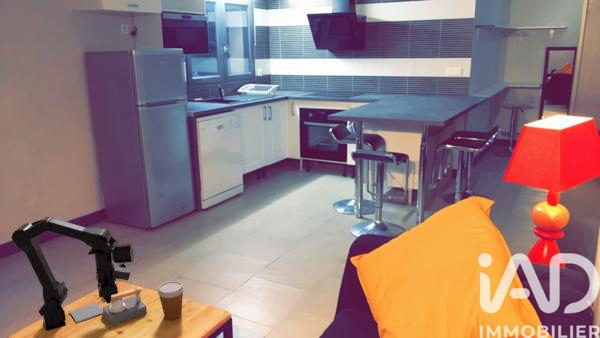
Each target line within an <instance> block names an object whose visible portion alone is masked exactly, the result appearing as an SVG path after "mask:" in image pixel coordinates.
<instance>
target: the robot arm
mask: <svg viewBox="0 0 600 338" xmlns="http://www.w3.org/2000/svg"><path fill="white" fill-rule="evenodd" d="M45 232H50V233H53V234H58V235H61V236H64V237H68V238H71V239H74V240H78V241H81V242H83V243H84V244H85V245H87V246H88V247H89V248H90V247H91V249H90V250H89V251H88V252H87V255H94V263H95V279H96V280H95V281H97V290H98V292H97V293H98V298H101V297H103V298H104V299H105V301H106V302H105V303H106V304H107V305H108V304H109V305H110V304H111V295H115V294H117V293H119V289H118V285H117V283H116V281H117V280H124V281H129V278H130V276H131V273H132V271H131V269H130V268H129V267H128V266H126V263H134V260H135V249H134V248H133V245H132V243H126V244H125V243H124V244H119V241H117V239H115V237H113V235H112V234H111V232H110V230H109V229H107V228H102V227H85V226H81V225H77V224H75V223H71V222H67V221H64V220H60V219H57V218H54V217H52V216H46V217H44V218H42V219H39V220H36V221H34V222H31V223H22V224H21V225H20V226H19V227H18V228H17V229H15V230H14V231H13V233H12V235H11V240H12V242H13V244H14V245H15V246H16V247H17V249H18V250H20V251H22V252H23V253H24V254H25V255H26V257H27V260H28V261H29V264H30V265H31V267H32V269H33V272H34V274H35V276H36V278H37V279H38V281H39V283H40V286H41V287H42V288H41V289H42V299H43V302H44V303H43V304H42V305H41V307H40V309H39V310H38V313H39V315H40V316H41V317H42V320H43V321H42V325H43V327H44V329H45V331H46V332H48V331H51V330H55V329H57V328H59V327H63V326H65V325H66V324H67V323H66V321H67V319H66V311H65V309H64V308H63V307H62V305H63V303H64V302H65V301H66V298H67V297H68V291H69V289H68V288H67V287H66V283H65V281H61V282H60V281H58V280H57V279H56V277H55V275H54V274H53V271H52V270H51V267H50V266H49V263H48V261H47V259H46V257H45V255H44V253H43V250H42V249H41V247H40V235H41V234H43V233H45ZM114 263H115V264H118V265H116V266H115V265H114Z"/></svg>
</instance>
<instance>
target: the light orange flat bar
mask: <svg viewBox="0 0 600 338" xmlns="http://www.w3.org/2000/svg"><path fill="white" fill-rule="evenodd" d="M141 292H142V289H141V287H139V286H138V287H133V288H130V289H126V290H123V291H120V292H119V291H118V293H117V294H115V295H111V301H112V300H116V299H119V298H122V299H123V298H127V297H130V296H134V295H136V294H137V293H140V294H141ZM100 301H101V303H102V304H105V303H107V302H106V301H105V299H104V298H103V297H100Z"/></svg>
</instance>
